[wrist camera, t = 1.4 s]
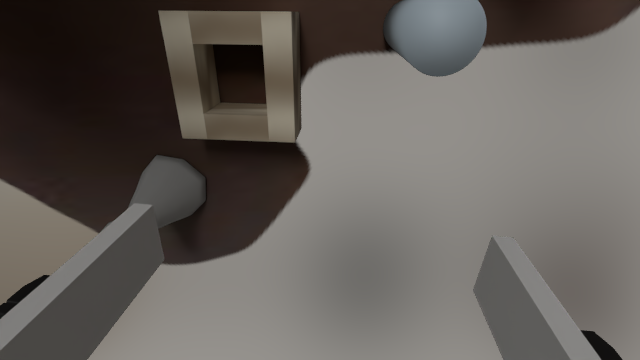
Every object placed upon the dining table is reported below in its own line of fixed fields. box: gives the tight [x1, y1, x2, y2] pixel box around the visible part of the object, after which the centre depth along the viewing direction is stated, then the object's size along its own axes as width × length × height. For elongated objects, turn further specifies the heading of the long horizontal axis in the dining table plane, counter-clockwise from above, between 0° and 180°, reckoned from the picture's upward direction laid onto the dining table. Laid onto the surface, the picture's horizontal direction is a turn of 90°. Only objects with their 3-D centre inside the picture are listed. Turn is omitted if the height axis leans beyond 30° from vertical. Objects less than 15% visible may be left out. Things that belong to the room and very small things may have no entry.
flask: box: [101, 155, 206, 232], centre depth 32 cm, size 7×7×10 cm
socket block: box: [158, 11, 301, 143], centre depth 28 cm, size 10×10×4 cm
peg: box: [383, 0, 487, 76], centre depth 22 cm, size 4×4×12 cm
